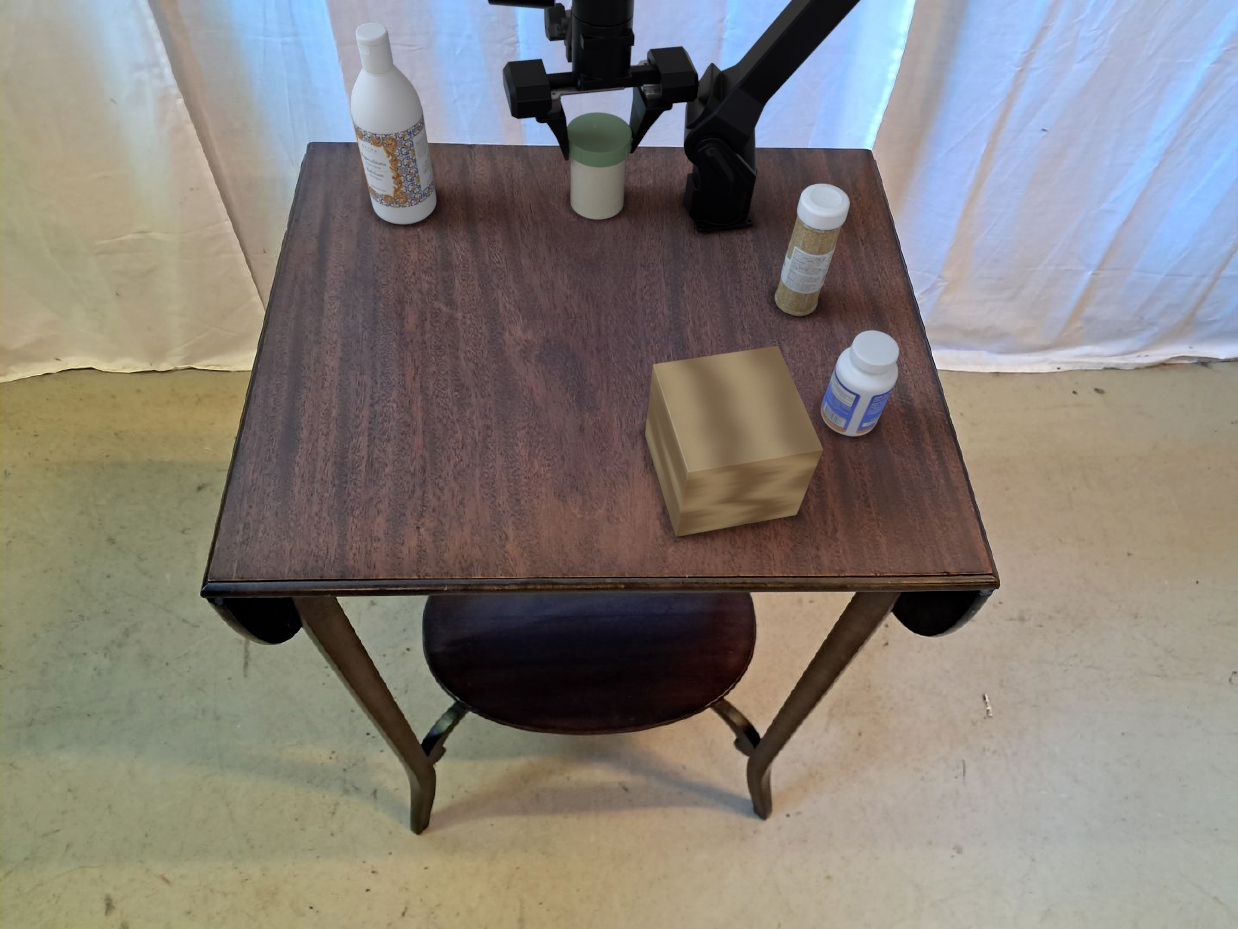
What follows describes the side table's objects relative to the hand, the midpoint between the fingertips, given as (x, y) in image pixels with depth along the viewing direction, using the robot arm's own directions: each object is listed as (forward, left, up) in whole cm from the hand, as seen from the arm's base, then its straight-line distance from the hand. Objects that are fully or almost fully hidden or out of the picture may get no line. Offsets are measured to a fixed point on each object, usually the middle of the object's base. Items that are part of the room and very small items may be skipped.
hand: (598, 154), depth 94 cm
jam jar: (0, 0, -6) cm, 6 cm away
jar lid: (0, 0, +2) cm, 2 cm away
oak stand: (-3, +38, -6) cm, 39 cm away
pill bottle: (-17, +34, -6) cm, 39 cm away
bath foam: (+21, -3, -6) cm, 22 cm away
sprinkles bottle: (-17, +19, -6) cm, 26 cm away
